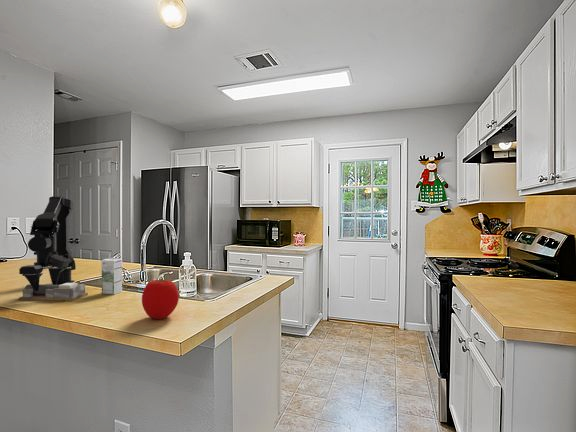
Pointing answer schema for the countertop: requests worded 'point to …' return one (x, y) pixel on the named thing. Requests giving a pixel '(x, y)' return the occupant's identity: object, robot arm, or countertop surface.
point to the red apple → (160, 298)
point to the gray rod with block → (49, 287)
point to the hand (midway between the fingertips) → (45, 288)
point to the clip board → (56, 294)
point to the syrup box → (111, 276)
